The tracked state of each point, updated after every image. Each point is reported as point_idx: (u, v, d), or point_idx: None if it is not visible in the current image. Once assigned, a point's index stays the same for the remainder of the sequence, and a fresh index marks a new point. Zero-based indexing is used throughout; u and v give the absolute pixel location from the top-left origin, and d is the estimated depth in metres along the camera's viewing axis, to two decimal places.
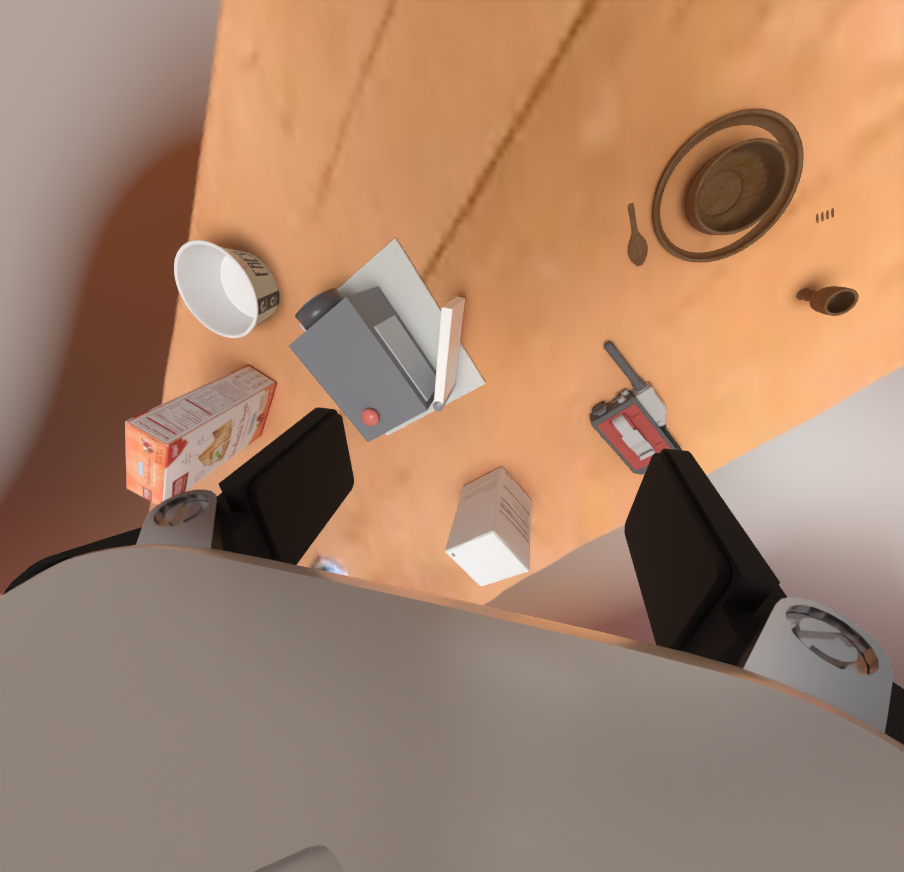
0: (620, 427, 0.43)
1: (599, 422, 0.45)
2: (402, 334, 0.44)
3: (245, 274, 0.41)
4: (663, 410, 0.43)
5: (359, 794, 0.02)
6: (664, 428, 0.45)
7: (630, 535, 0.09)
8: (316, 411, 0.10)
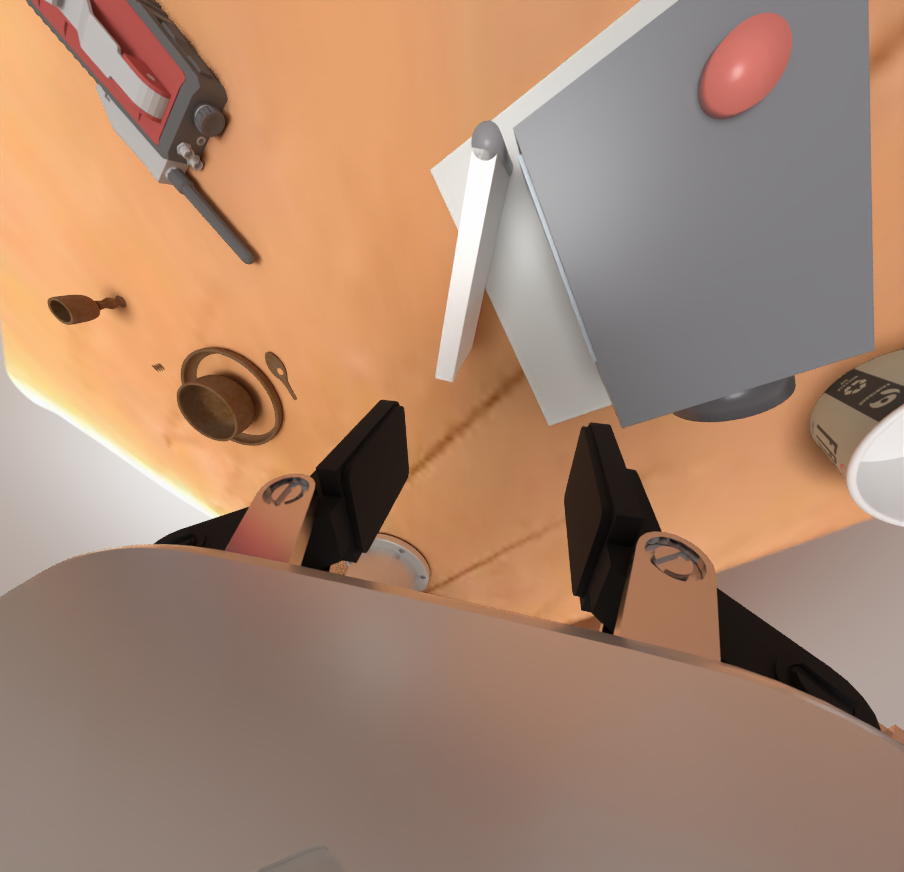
0: (135, 82, 0.21)
1: (185, 88, 0.22)
2: (571, 304, 0.23)
3: (851, 468, 0.21)
4: (115, 126, 0.24)
5: (359, 794, 0.02)
6: None
7: (566, 502, 0.11)
8: (382, 403, 0.10)
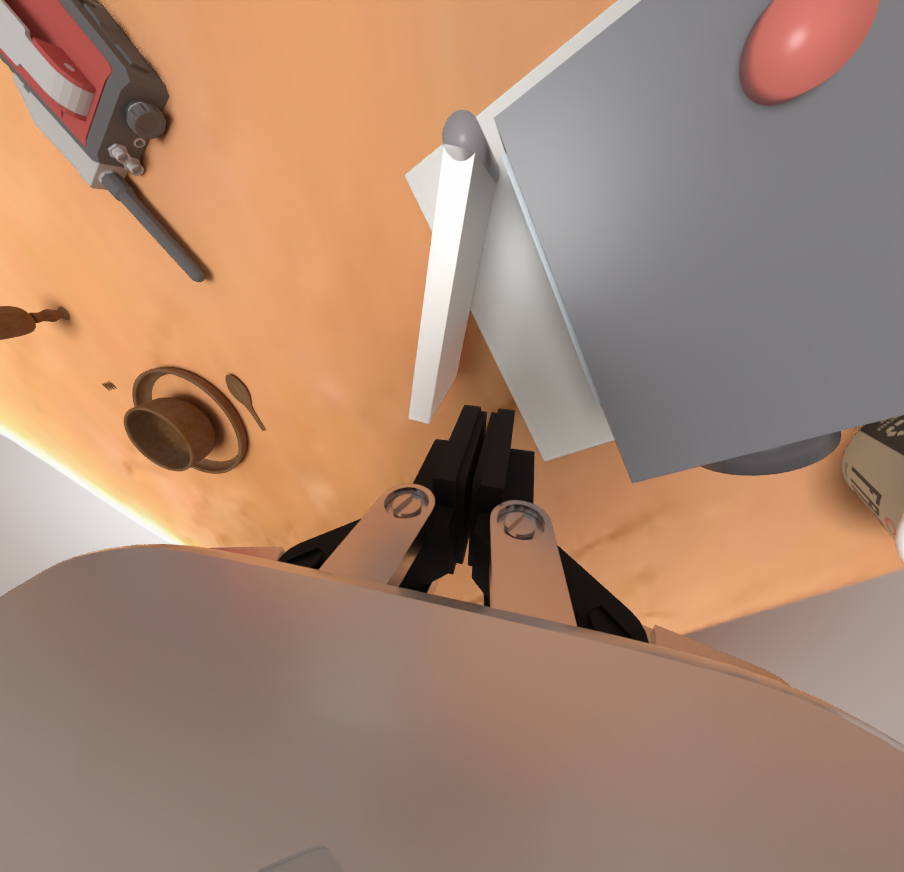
0: (49, 73, 0.18)
1: (111, 81, 0.19)
2: None
3: (902, 527, 0.18)
4: (38, 122, 0.21)
5: (359, 794, 0.02)
6: None
7: None
8: (467, 408, 0.10)
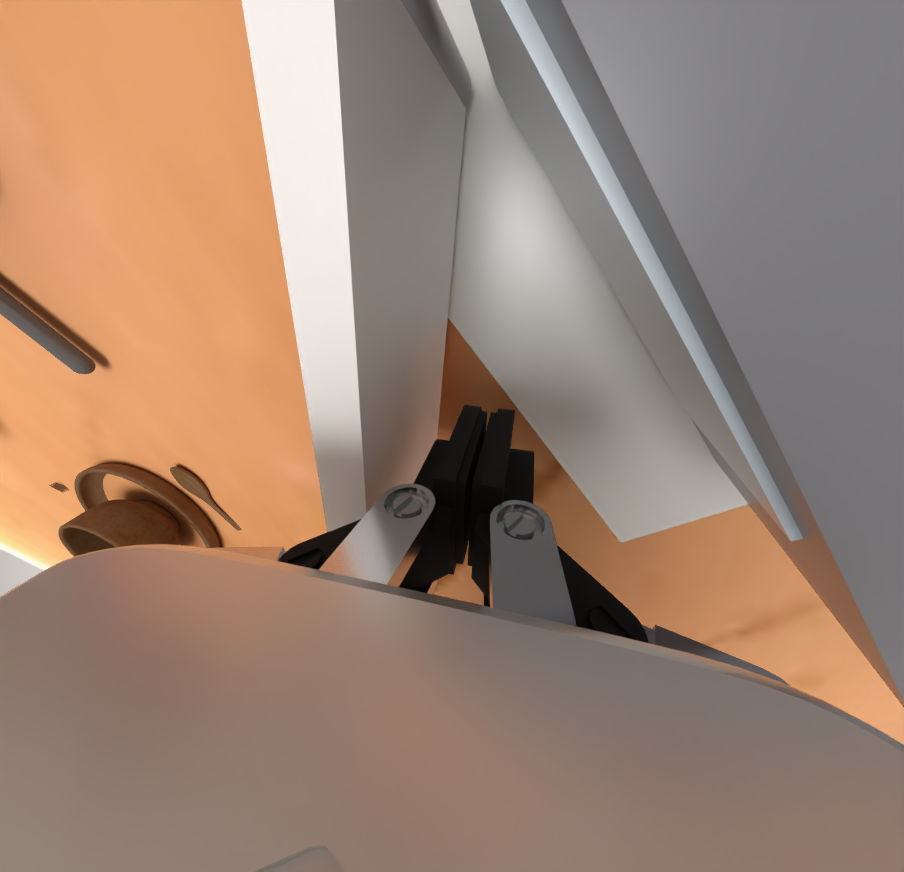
0: None
1: None
2: (654, 354, 0.10)
3: None
4: None
5: (359, 794, 0.02)
6: None
7: None
8: (468, 408, 0.10)
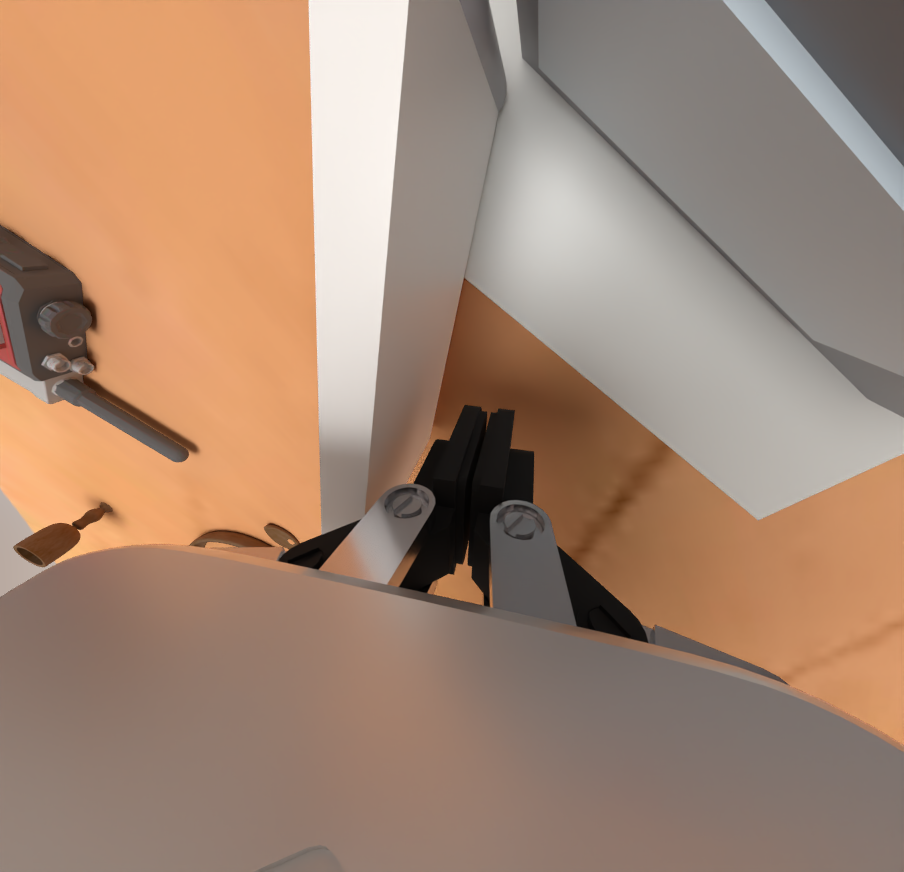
0: None
1: (6, 298, 0.15)
2: (783, 290, 0.09)
3: None
4: None
5: (359, 794, 0.02)
6: None
7: None
8: (468, 408, 0.10)
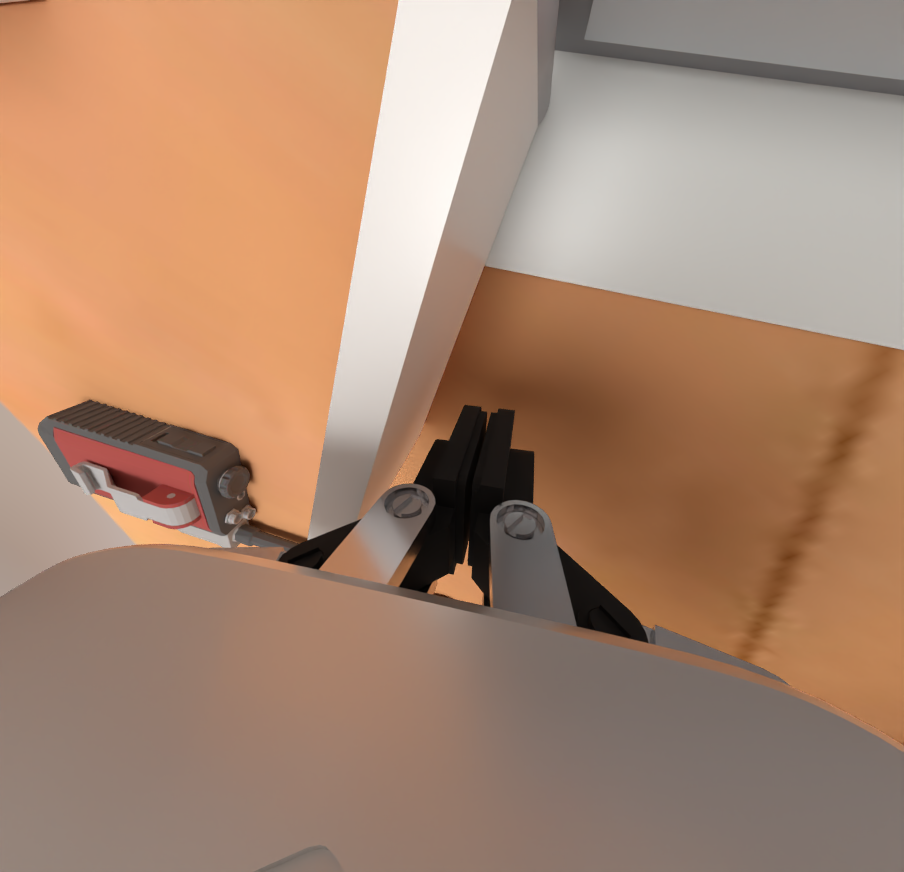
0: (162, 512, 0.19)
1: (197, 482, 0.19)
2: None
3: None
4: (183, 530, 0.24)
5: (360, 794, 0.02)
6: None
7: None
8: (468, 408, 0.10)
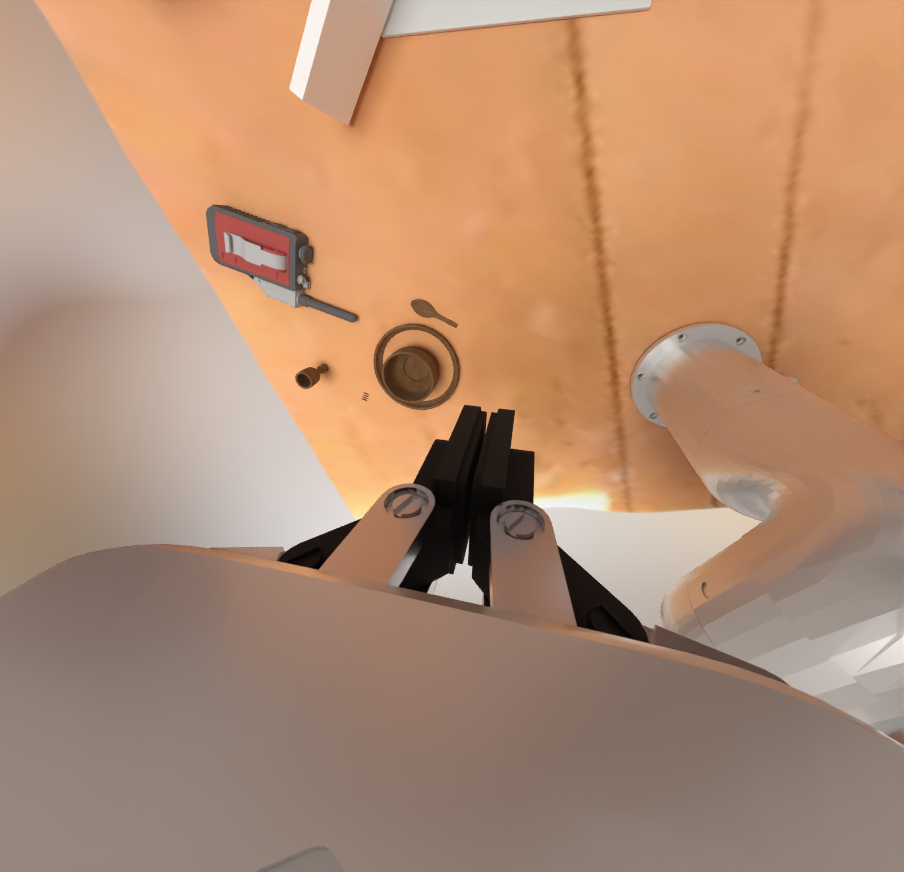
0: (271, 257, 0.38)
1: (291, 244, 0.38)
2: None
3: None
4: (267, 293, 0.43)
5: (359, 794, 0.02)
6: (250, 275, 0.43)
7: None
8: (467, 408, 0.10)
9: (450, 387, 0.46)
